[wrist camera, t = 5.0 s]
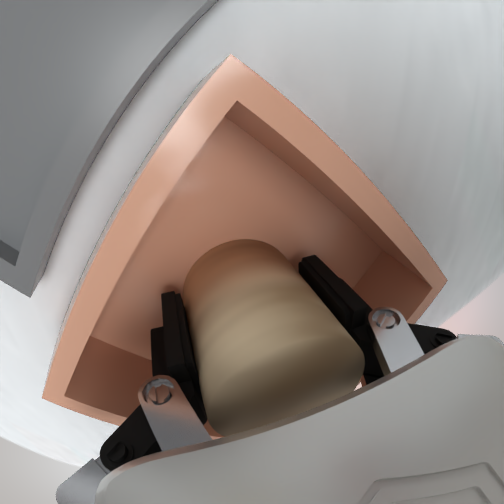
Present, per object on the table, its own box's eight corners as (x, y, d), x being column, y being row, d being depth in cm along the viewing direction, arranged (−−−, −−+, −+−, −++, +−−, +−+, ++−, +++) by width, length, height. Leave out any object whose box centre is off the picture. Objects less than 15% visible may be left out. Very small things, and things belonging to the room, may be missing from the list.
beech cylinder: (312, 271, 14) (389, 357, 9) (249, 346, 15) (292, 444, 10) (226, 216, 11) (287, 310, 6) (161, 311, 12) (175, 430, 7)
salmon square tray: (391, 241, 15) (447, 280, 11) (256, 393, 18) (280, 449, 14) (203, 77, 9) (231, 54, 5) (61, 325, 12) (42, 398, 8)
